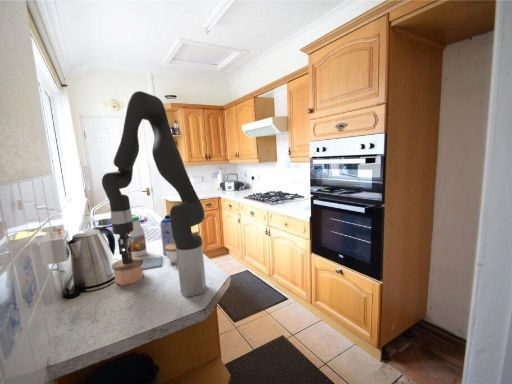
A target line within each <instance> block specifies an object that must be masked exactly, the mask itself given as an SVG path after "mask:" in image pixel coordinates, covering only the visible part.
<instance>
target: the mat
mask: <svg viewBox="0 0 512 384" xmlns="http://www.w3.org/2000/svg"><path fill="white" fill-rule="evenodd" d="M162 262H163V257H162V256H161V255H160V256H157V257H150V258H145V259H144V258H143V263H142V268H143V271H144V270H149V269H154V268H160V267H162V265H163V263H162Z"/></svg>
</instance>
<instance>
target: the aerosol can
mask: <svg viewBox="0 0 512 384" xmlns="http://www.w3.org/2000/svg"><path fill="white" fill-rule="evenodd" d="M159 223H160V225H159V226H160V233H161V244H162V251H163V252H162V255H163V256H165V257H167V255H166V250H165V246H166V245H168V244H170V243H173V242H175V241H174V239H173V234H172V228H171V222H170V214H166V215H165V216H164V218H163V219H161V221H160V222H159Z"/></svg>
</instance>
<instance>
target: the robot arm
mask: <svg viewBox="0 0 512 384" xmlns="http://www.w3.org/2000/svg"><path fill="white" fill-rule="evenodd" d="M143 120H146V121H148V122H149V124H150V126H151V129H152V132H153V136H154V137H153V138H154V139H153V144H152V145H153V146H152V151H151V153H152V158H153V160H154V163H155V166H156V168H157V171H158V173H159V174H160V176H161V177H162V178H163V179H164V180H165V181H166V182H167V183H169V185H170V186H171V187H173V188H174V189H175V191H176V192H177V194H178V196H179V197H180V200H181V202H179V203H176V204H174V205H173V206H172V207H171V208H170V211H169V216H170V222H171V228H172V234H173V239H174V241H175V244H176V251H177V262H178V263H177V270H178V278H179V279H178V280H179V287H180V293H181V295H183V296H185V298H189V297H194V296H198V295H203V294H204V292H205V291H206V289H207V283H206V273H205V271H206V270H205V261H204V250H203V239H202V236H201V235H200V234H195V233H194V234H193V231H192V228H193V227H195V226H197V225H200V224H202V223H203V222H204V219H205V211H204V206H203V204H202V202H201V200H200V198H199V197H198V193H197V192H196V190H195V189H194V186H193V184H192V182H191V180H190V177H189V175H188V171H187V170H186V167H185V165H184V161H183V158H182V156H181V153H180V151H179V149H178V148H179V147H178V146H177V144H176V140H175V138H174V136H173V135H174V134H173V133H172V130H171V128H170V127H171V126H170V123H169V119H168V115H167V112H166V109H165V106H164V103H163V101H162V100H161V99H160V98H159V97H158V96H156V95H153V94H150V93H147V92H144V91H140V90H139V91H135V92H133V93H132V94H131V96H130V97H129V99H128V103H127V107H126V112H125V117H124V123H123V129H122V134H121V139H120V142H119V144H118V147H117V151H116V152H115V153H116V154H115V156H114V158H113V165H114V166H115V167H116V168H117V171H109V172H105V173H104V174H103V175H102V178H101V184H102V188H103V190H104V193H105V195H106V197H107V199H108V201H109V207H110V219H111V220H110V221H111V228H112V233H113V234H114V235H119V237H117V242H118V243H117V244H118V251H119V252H118V253H119V255H121V259H122V262H123V263H128V262H129V258H128V252H131V237H130V232H132V231H133V230H134V228H133V220H132V217H133V214H132V209H131V203H130V202H131V201H130V198H129V196H128V195H127V194H122V192H121V189H125V188H126V189H127V187H129V185H130V184H131V183H132V179H133V173H134V165H135V163H136V160H137V157H138V156H139V152H140V151H139V150H140V143H139V128H140V125H141V123H142V121H143ZM123 249H124V250H123Z"/></svg>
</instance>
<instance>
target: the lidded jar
mask: <svg viewBox="0 0 512 384" xmlns="http://www.w3.org/2000/svg"><path fill="white" fill-rule="evenodd" d="M165 250H166V255H167V256H166V258H167V259H168V261H170V262H171V263H172V264H178V262H177V251H176V244H175V242H173V243H170V244H168V245H166V246H165Z"/></svg>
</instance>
